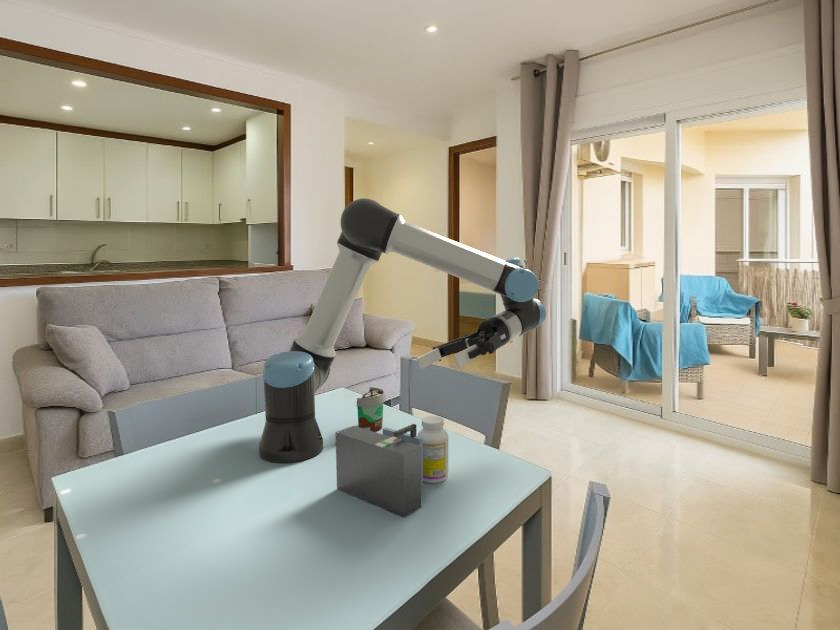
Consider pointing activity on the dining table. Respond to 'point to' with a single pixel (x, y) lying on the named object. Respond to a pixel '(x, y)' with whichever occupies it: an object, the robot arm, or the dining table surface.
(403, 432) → the pale blue square panel
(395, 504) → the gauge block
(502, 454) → the dining table surface
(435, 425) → the supplement bottle
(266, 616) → the dining table surface
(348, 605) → the dining table surface
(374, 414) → the food container
